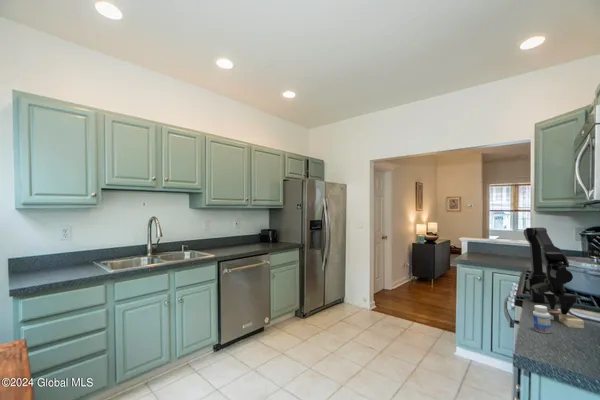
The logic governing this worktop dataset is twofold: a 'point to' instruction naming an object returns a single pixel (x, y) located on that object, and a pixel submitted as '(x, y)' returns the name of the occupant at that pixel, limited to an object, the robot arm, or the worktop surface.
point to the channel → (555, 312)
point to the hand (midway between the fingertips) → (557, 312)
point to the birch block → (571, 321)
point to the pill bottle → (541, 319)
